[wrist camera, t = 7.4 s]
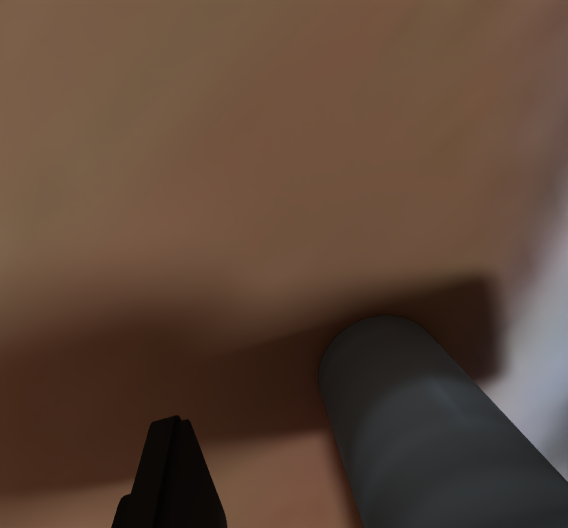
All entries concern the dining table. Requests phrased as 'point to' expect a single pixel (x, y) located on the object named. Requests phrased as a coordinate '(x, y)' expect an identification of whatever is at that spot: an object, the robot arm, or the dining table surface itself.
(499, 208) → the dining table surface
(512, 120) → the dining table surface
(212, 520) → the robot arm
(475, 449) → the knobbed lever joystick
